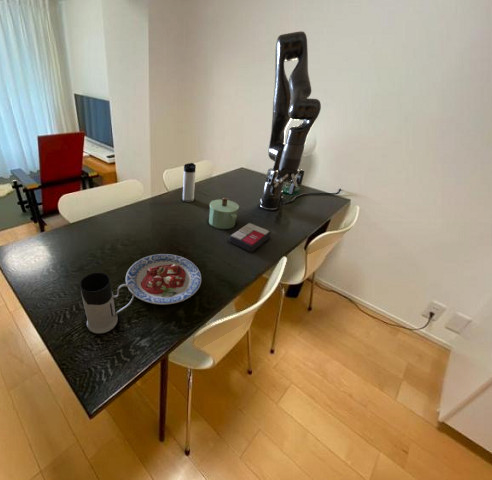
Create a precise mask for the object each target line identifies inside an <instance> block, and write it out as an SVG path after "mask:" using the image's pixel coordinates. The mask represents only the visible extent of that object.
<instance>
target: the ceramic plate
mask: <svg viewBox="0 0 492 480" xmlns="http://www.w3.org/2000/svg"><path fill="white" fill-rule="evenodd" d="M125 284H128V285H131V286H132V287H133V288H134V298H137V299H139V300H141V301H143V302H145V303H148V304H153V305H161V306H163V305H165V306H166V305H172V304H173V305H174V304H178V303H182V302H184V301H186V300H188V299H190V298H191V297H192V296H194V295H195V294H196V293H197V292H198V290H199V289H200V287H201V284H202V274H201V271H200V269H199V268H198V267H197V265H196V264H195V263H194V262H192V261H191V260H189V259H188V258H185V257H183V256H180V255H177V254H170V253H159V254H158V253H157V254H152V255H148V256H145V257H142V258H140V259H139V260H137V261H135V262H134V263H133V264H132V265H131V266H130V267H129V268H128V269H127V272H126V275H125ZM127 289H128V291H129V292H130V294H132V295H133V291H132V289H131V288H130V287H127Z"/></svg>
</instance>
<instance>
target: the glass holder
mask: <svg viewBox="0 0 492 480" xmlns="http://www.w3.org/2000/svg"><path fill="white" fill-rule="evenodd" d="M123 287H127V288H128V287H130V288H131V289H132V291H133V294H132V296H131V299H130V301H129V302H128V303H127V304H126V305H125V306H123V307H122V308H120V309H119V310H117V311H116V308H115V301H114V299H116V298H119V296H120V289H121V288H123ZM79 288H80V295H81V298H82V303H83V308H84V311H85V316H86V327H87V329H88V330H89V331H90V332H92V333H94V334H105V333H108V332H110V331H111V330H113V329H114V328H115V327H116V326H117V324H118V321H119V317H118V314H119V313H121V312H122V311H124V310H125V309H127V308H128V307H129V306H131V305H132V303H133V301H134V299H135V296H134V288H133V287H132V286H131V285H128V284H126V283H122V284H121V285H119V286H118V288H117V291H116V294H115V295H114V293H113V291H112V283H111V278H110V276H109V275H108V274H106V273H105V272H98V271H97V272H92V273H89V274H87V275H85V276H84V277H83V278H82V279H81V280H80V282H79Z"/></svg>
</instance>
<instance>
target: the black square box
mask: <svg viewBox="0 0 492 480" xmlns="http://www.w3.org/2000/svg"><path fill="white" fill-rule="evenodd" d="M270 236H271V231H270V230H268V229H265V228H263V227H261V226H258V225H256V224H254V223H251V222H247V224H244V226H242V227H241V228H239V229H238V230H236V231H235V232H233V233H232V234H231V235H230V236H229V243H231V244H233V245H235V246H237V247H239V248H241V249H243V250H245V251H247V252H250V253H252V252H254V251H255V250H256V249H257V248H259V247H260V246H261V245H262V244H264V243H265V242H267V241H268V240H269V239H270Z"/></svg>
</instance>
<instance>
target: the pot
mask: <svg viewBox="0 0 492 480" xmlns="http://www.w3.org/2000/svg"><path fill="white" fill-rule="evenodd" d="M238 210H239V209H238ZM238 210H237V211H236V212H233V213H221V212H217V211H214V210H212V209H211V208H210V207H209V213H208V224H209V225H210V226H211V227H213V228H215V229H221V230H227V229H228V230H229V229H232V228H234V227H235V225H236V222H237V218H238Z"/></svg>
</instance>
